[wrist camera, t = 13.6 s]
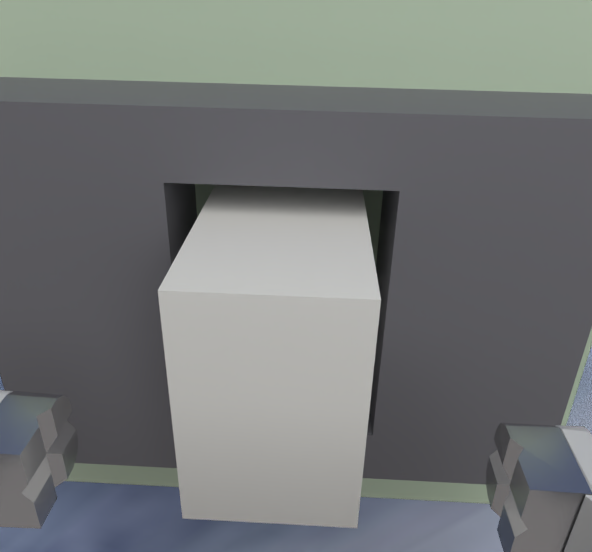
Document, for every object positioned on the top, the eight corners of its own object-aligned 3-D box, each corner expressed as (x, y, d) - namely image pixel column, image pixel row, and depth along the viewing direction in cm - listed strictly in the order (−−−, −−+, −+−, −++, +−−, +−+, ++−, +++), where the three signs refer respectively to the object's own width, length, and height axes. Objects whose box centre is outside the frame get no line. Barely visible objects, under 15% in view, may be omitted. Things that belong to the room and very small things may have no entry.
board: (715, -106, 13) (856, -137, 10) (533, 490, 23) (571, 584, 19) (-107, -120, 14) (-252, -154, 10) (45, 464, 23) (-6, 550, 20)
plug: (360, 177, 16) (381, 300, 10) (347, 349, 19) (357, 528, 13) (222, 172, 16) (157, 290, 10) (229, 343, 19) (182, 518, 13)
